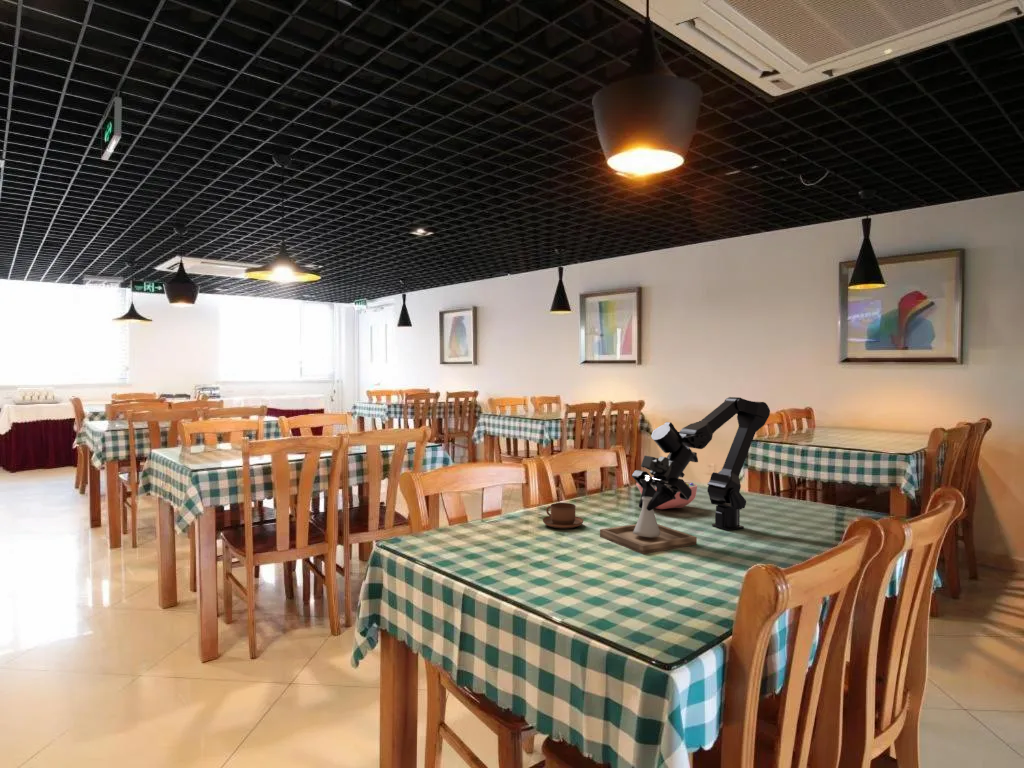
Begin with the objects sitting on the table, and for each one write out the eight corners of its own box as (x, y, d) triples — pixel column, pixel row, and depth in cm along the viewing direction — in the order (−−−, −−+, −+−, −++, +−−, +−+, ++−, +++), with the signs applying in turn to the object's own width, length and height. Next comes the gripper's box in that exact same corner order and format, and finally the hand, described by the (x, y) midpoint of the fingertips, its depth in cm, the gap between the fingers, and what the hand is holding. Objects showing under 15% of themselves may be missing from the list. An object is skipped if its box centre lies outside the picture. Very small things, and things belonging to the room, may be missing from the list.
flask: (652, 539, 157) (653, 501, 157) (627, 534, 162) (629, 497, 162) (665, 534, 163) (666, 497, 163) (641, 529, 167) (642, 493, 167)
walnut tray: (651, 528, 174) (651, 521, 174) (696, 544, 158) (696, 536, 158) (600, 536, 166) (600, 529, 166) (642, 554, 150) (642, 546, 150)
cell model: (704, 514, 192) (704, 479, 192) (641, 514, 192) (641, 479, 192) (689, 503, 209) (689, 470, 209) (631, 503, 209) (632, 470, 209)
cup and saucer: (537, 529, 175) (537, 508, 175) (550, 519, 186) (550, 499, 186) (577, 533, 170) (577, 511, 170) (588, 523, 182) (588, 503, 181)
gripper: (636, 441, 172) (605, 483, 167) (683, 448, 155) (650, 495, 151) (658, 466, 176) (628, 508, 171) (706, 476, 159) (674, 523, 154)
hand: (643, 508), depth 162 cm, fingers closed on flask, 3 cm apart
